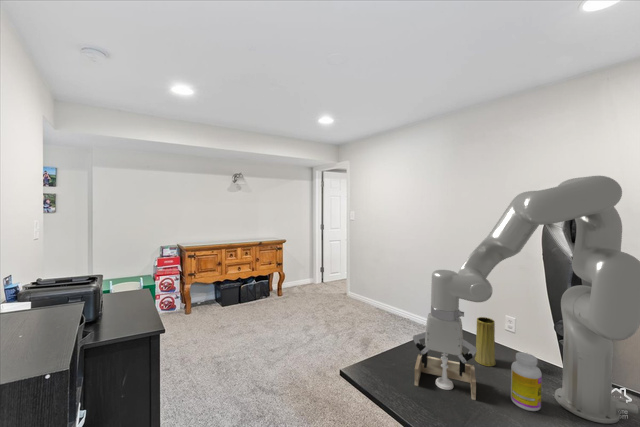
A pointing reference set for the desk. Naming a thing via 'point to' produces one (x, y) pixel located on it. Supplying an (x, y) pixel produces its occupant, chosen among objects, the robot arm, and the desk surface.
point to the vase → (485, 341)
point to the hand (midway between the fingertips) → (442, 369)
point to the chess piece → (444, 375)
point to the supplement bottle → (526, 382)
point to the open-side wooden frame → (452, 371)
